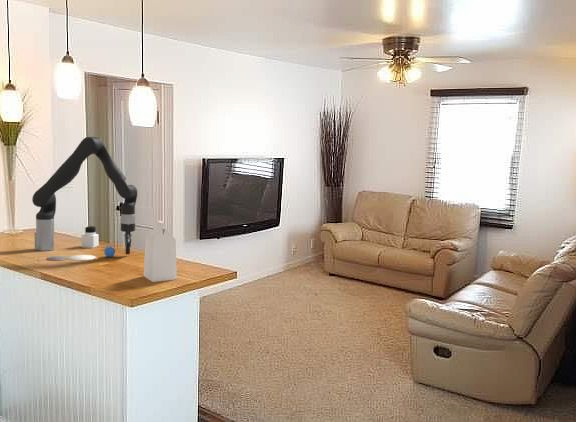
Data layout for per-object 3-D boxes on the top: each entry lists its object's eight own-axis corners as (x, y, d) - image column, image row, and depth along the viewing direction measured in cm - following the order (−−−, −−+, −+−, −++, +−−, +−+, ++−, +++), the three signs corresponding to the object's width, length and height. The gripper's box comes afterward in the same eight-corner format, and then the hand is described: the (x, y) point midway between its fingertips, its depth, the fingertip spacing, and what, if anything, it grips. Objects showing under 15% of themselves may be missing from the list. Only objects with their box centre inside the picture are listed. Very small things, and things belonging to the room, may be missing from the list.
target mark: (61, 259, 285) (61, 259, 285) (76, 254, 299) (76, 254, 299) (87, 261, 283) (87, 261, 283) (100, 256, 296) (100, 255, 296)
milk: (177, 279, 252) (177, 222, 250) (152, 281, 246) (152, 223, 243) (167, 273, 262) (168, 219, 259) (143, 276, 256) (144, 220, 253)
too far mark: (42, 259, 282) (42, 259, 282) (53, 256, 292) (53, 255, 292) (60, 261, 281) (60, 260, 281) (71, 257, 291) (71, 257, 291)
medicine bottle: (98, 246, 325) (98, 225, 324) (93, 248, 318) (93, 227, 317) (87, 245, 326) (87, 225, 325) (81, 247, 319) (81, 226, 318)
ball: (102, 257, 293) (102, 247, 293) (107, 255, 299) (107, 245, 298) (112, 258, 292) (112, 247, 292) (117, 256, 298) (117, 246, 297)
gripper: (119, 220, 302) (119, 251, 304) (121, 224, 290) (121, 256, 292) (134, 220, 305) (133, 251, 307) (136, 224, 292) (136, 256, 294)
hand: (127, 254), depth 299 cm, fingers closed
